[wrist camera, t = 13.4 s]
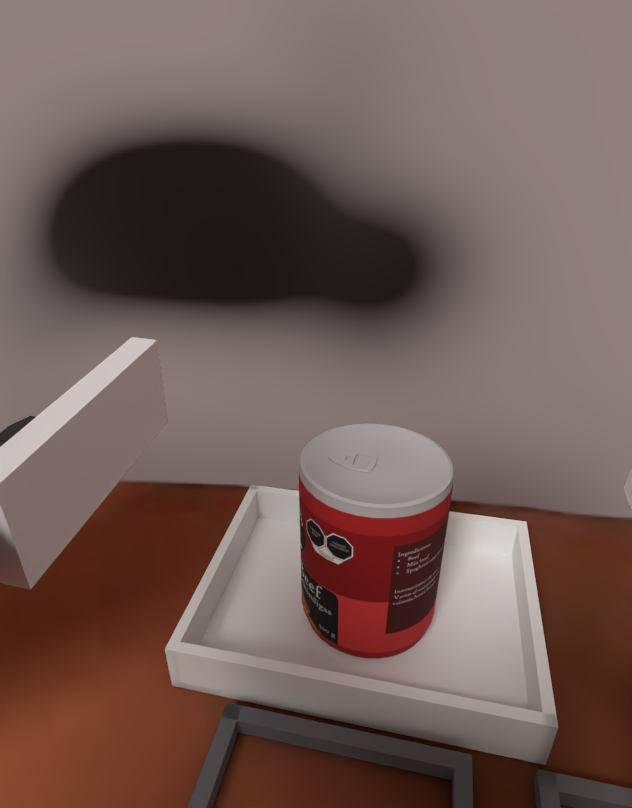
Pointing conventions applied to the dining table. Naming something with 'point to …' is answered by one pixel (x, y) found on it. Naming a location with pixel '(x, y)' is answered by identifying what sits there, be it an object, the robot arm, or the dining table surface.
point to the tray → (368, 677)
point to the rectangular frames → (385, 760)
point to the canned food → (372, 536)
